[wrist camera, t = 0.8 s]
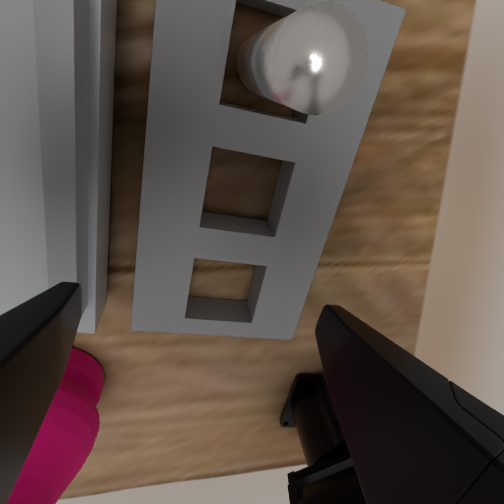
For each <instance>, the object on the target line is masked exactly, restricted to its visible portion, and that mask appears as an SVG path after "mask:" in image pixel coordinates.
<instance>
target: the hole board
mask: <svg viewBox="0 0 504 504" xmlns="http://www.w3.org/2000/svg"><path fill="white" fill-rule="evenodd" d="M323 1H327V2H334V3H338V4H340V5H343V6H345V7H346V8H348V9H349V10H350V11H352V12H353V13H354V14H355V15H356V17H357V18H358V19H359V21H360V22H361V24H362V26H363V28H364V30H365V33H366V37H367V41H368V51H369V55H368V64H367V69H366V73H365V76H364V79H363V81H362V83H361V85H360V87H359V89H358V90H357V92H356V93H355V94H354V96H353V97H352V98H351V99H350V100H349V101H348V102H347V103H346V104H345V105H343V106H342V107H341V108H339V109H337V110H335V111H333V112H331V113H328V114H323V115H309V114H305V113H302V112H299V111H297V110H295V112H294V116H293V118H292V117H288V116H283V115H279V114H274V113H270V112H265V111H261V110H257V109H252V108H248V107H243V106H239V105H234V104H230V103H226V102H221V101H220V97H221V91H222V84H223V78H224V72H225V66H226V60H227V54H228V47H229V41H230V35H231V29H232V23H233V17H234V10H235V4H236V3H238V4H241V5H244V6H248V7H251V8H254V9H258V10H261V11H264V12H268V13H271V14H274V15H278V16H281V17H286V16H288V15H290V14H292V13H294V12H296V11H298V10H300V9H301V8H303V7H305V6H308V5H310V4H313V3H316V2H323ZM405 12H406V9H404V8H401V7H398V6H395V5H392V4H389V3H386V2H383V1H380V0H156V7H155V20H154V33H153V46H152V59H151V72H150V85H149V98H148V111H147V124H146V137H145V150H144V163H143V176H142V189H141V202H140V215H139V228H138V241H137V254H136V267H135V280H134V293H133V306H132V320H131V330H134V331H151V332H168V333H184V334H201V335H218V336H234V337H251V338H268V339H285V340H292V338H293V335H294V332H295V329H296V326H297V323H298V321H299V318H300V315H301V312H302V309H303V306H304V303H305V300H306V297H307V295H308V292H309V289H310V286H311V283H312V280H313V277H314V274H315V271H316V269H317V266H318V263H319V260H320V257H321V254H322V251H323V248H324V246H325V243H326V240H327V237H328V234H329V231H330V228H331V225H332V222H333V220H334V217H335V214H336V211H337V208H338V205H339V202H340V199H341V196H342V194H343V191H344V188H345V185H346V182H347V179H348V176H349V173H350V170H351V168H352V165H353V162H354V159H355V156H356V153H357V150H358V147H359V144H360V142H361V139H362V136H363V133H364V130H365V127H366V124H367V121H368V119H369V116H370V113H371V110H372V107H373V104H374V101H375V98H376V95H377V93H378V90H379V87H380V84H381V81H382V78H383V75H384V72H385V69H386V67H387V64H388V61H389V58H390V55H391V52H392V49H393V46H394V43H395V41H396V38H397V35H398V32H399V29H400V26H401V23H402V20H403V17H404V15H405ZM212 147H217V148H222V149H227V150H233V151H238V152H243V153H248V154H253V155H259V156H264V157H269V158H274V159H279V160H282V164H281V167H280V171H279V175H278V179H277V183H276V187H275V191H274V195H273V199H272V203H271V207H270V211H269V215H268V219H267V221H263V220H257V219H250V218H243V217H236V216H229V215H222V214H215V213H209V212H202V208H203V202H204V196H205V189H206V183H207V177H208V171H209V165H210V159H211V152H212ZM194 258H199V259H208V260H216V261H225V262H234V263H243V264H252V265H256V266H255V270H254V274H253V277H252V281H251V285H250V289H249V293H248V297H247V301H238V300H227V299H215V298H203V297H192V296H188V294H189V288H190V282H191V276H192V270H193V263H194Z"/></svg>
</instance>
